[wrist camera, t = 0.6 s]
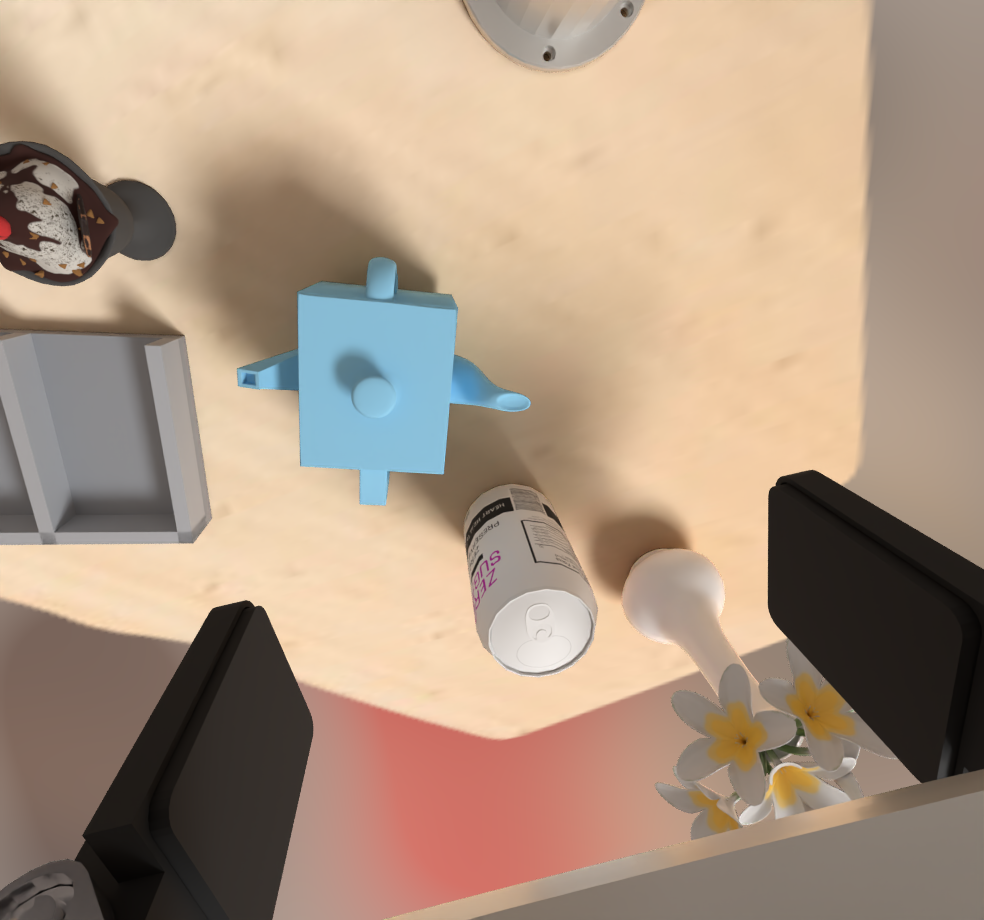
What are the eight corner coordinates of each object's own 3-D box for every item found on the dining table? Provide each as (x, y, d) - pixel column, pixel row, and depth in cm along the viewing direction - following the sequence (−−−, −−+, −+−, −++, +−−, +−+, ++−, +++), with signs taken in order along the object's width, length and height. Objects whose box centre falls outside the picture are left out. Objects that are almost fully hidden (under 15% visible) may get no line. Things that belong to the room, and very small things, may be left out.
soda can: (558, 552, 51) (608, 670, 37) (470, 568, 50) (487, 694, 37) (549, 473, 48) (601, 570, 34) (455, 490, 47) (468, 595, 33)
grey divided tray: (-127, 324, 37) (-187, 334, 34) (184, 335, 40) (160, 346, 36) (-58, 519, 43) (-103, 545, 39) (212, 518, 46) (193, 543, 42)
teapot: (268, 239, 38) (210, 241, 28) (520, 268, 41) (553, 279, 31) (275, 450, 44) (230, 516, 34) (496, 463, 47) (517, 529, 36)
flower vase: (770, 524, 52) (1042, 750, 29) (649, 660, 57) (802, 946, 34) (671, 459, 48) (894, 660, 25) (550, 610, 53) (646, 896, 30)
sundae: (60, 217, 36) (-162, 206, 23) (124, 142, 35) (-68, 82, 21) (147, 294, 39) (-6, 327, 25) (210, 226, 38) (86, 221, 24)
